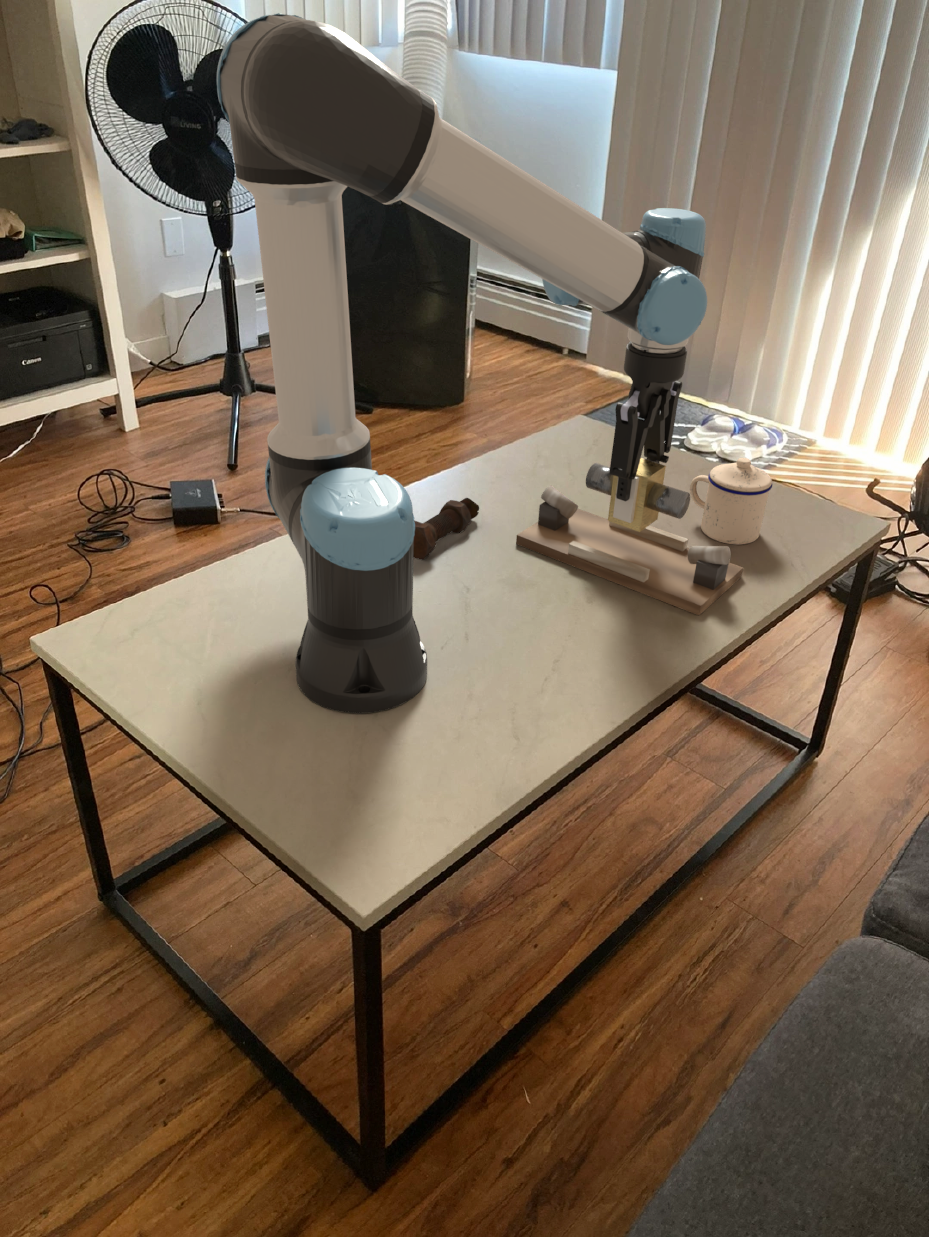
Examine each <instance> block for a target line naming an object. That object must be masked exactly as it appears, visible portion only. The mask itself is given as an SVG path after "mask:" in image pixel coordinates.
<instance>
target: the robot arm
mask: <svg viewBox="0 0 929 1237" xmlns="http://www.w3.org/2000/svg"><path fill="white" fill-rule="evenodd" d="M216 92H217V97H218V102H219V105H220V106H221V111H222V113H223V114H224V117H225V119H226V120H227V122H228V124H229V128H230V137H231V143H232V153H233V155H232V156H233V161H234V169H235V176H236V177H235V178H236V181H237V182H238V183H240V185H242V186H243V187H244V189H246V190H247V191H248V192H249V194H251V195H252V197H253V198H254V206H255V216H256V223H257V224H256V225H257V235H258V243H259V251H260V260H261V261H260V262H261V269H262V280H263V288H264V297H265V299H264V300H265V305H266V306H265V308H266V315H267V324H268V334H269V341H270V343H269V345H270V351H271V353H270V354H271V362H272V370H273V371H272V372H273V378H274V380H273V381H274V390H275V398H276V408H277V415H278V416H277V417H278V423H277V424H276V425H275V426H274V427H273V428H272V429H271V430H270V431H269V432H268V434H267V437H266V439H267V440H266V442H267V448H268V449H267V451H268V459H267V461H266V464H265V471H264V484H265V493H266V494H267V499H268V501H269V505H270V506H271V508H272V511H273V512H274V514H275V515H276V516H277V518H279V520H280V522H281V524H282V526H283V527H284V529H285V531H286V532H287V535H288V536H289V538H290V540H291V543H292V544H293V545H294V547H295V549H296V551H297V553H298V555H299V557H300V559H301V561H302V564H303V568H304V573H305V589H306V603H307V604H306V605H307V621H306V624H305V627H304V630H303V634H302V637H301V639H300V644H299V647H298V649H297V652H296V655H295V661H294V662H295V678H296V679H295V680H296V682H297V685H298V688H299V689H300V691H301V693H302V694H303V695H304V696H305V697H306V698H307V699H309V700H310V701H312V702H313V703H315V704H317V705H319V706H321V707H323V708H325V709H329V710H332V711H337V712H339V713H340V712H341V713H349V714H371V713H376V712H383V711H387V710H390V709H394V708H396V707H399V706H402V705H403V704H405V703H407V702H408V701H410V700H412V699H413V698H414V697H415V696H416V695H418V694H419V692H420V691H421V690H422V689H423V687H424V686H425V684H426V681H427V677H428V655H427V654H428V653H427V650H426V647H425V646H424V643H423V642H422V640H421V636H420V632H419V629H418V627H417V624H416V620H415V619H414V616H413V614H414V613H413V608H414V606H413V604H414V603H413V602H414V601H413V600H414V598H413V597H414V558H413V548H414V535H415V522H414V520H415V516H414V513H413V512H414V511H413V510H414V509H413V503H412V499H411V497H410V496H411V495H410V494H409V493H408V490H406V488H405V487H404V486H403V485H402V483H400V482H399V481H398V480H396V479H395V478H394V477H391V476H390V475H388V474H386V473H383V474H379V473H378V471H377V470H374V469H373V465H372V464H373V463H372V448H371V433H370V430H369V428H368V427H367V426H366V425H365V424H363V423H362V422H361V420H359V419H357V417H356V404H355V402H356V401H355V390H354V388H355V387H354V386H355V385H354V373H353V371H354V370H353V356H352V342H351V341H352V340H351V324H350V308H349V307H350V306H349V294H348V279H347V278H348V277H347V274H348V273H347V263H346V261H347V260H346V246H345V232H344V230H345V228H344V213H343V198H342V195H343V193H344V191H345V190H346V189H347V188H348V187H349V188H350V189H354V190H355V191H358V192H360V193H362V194H364V195H366V196H368V197H370V198H371V199H373V200H375V201H377V202H379V203H381V204H383V205H392V204H393V203H397V202H399V201H402V203H405V204H407V205H408V206H410V207H412V208H414V209H416V210H418V211H419V212H421V213H423V214H425V215H426V216H428V217H431V218H432V219H434V220H435V221H438V222H439V223H441V224H443V225H445V226H446V227H448V228H450V229H452V230H454V231H456V232H457V233H459V234H461V235H463V236H464V237H466V238H468V239H470V240H472V241H474V242H476V243H477V244H478V245H481V246H482V247H484V248H487V249H488V250H490V251H492V252H493V253H495V254H497V255H499V256H500V257H503V258H504V259H505V260H508V261H510V262H511V263H513V264H515V265H517V266H518V267H521V268H522V269H524V270H525V271H527V272H529V273H530V274H533V275H535V276H537V277H538V278H541V279H542V285H543V288H544V289H543V290H544V292H545V293H546V296H547V298H548V299H549V301H551V302H552V303H553V304H555V305H557V306H571V307H576V306H579V305H589V306H591V307H592V308H594V309H596V310H597V311H599V312H601V313H602V314H604V315H606V316H607V317H609V318H611V319H613V320H614V321H616V322H618V323H620V324H622V325H624V326H626V327H628V329H627V339H628V340H629V342H628V343H627V344H626V346H625V347H626V348H625V354H624V355H625V356H624V363H623V371H624V373H625V374H626V375H627V376H628V377H629V378H630V379H631V381H632V383H631V387H630V389H629V391H628V392H629V393H628V399H627V401H626V402H625V403H623V402H619V401H618V402H617V404H616V405H615V410H614V411H615V427H614V436H613V443H612V448H611V449H612V452H611V456H610V457H611V458H610V463H609V464H610V465H609V467H610V472H609V473H610V474H611V475H614V476H617V477H618V482H617V490H616V497H615V505H614V512H613V517H614V518H617V519H620V520H623V521H626V522H628V523H631V522H633V518H634V511H635V504H636V497H637V490H638V483H639V477H638V476H636V474H637V470H638V466H639V462H640V458H642V459H646V460H649V461H652V462H655V463H658V464H661V463H664V464H667V463H668V461H669V459H670V456H668V455H665V453H666V454H668V453H669V452H671V448H672V441H673V436H674V428H675V422H676V416H677V409H678V404H679V403H678V402H679V398H680V395H681V391H682V388H683V382H682V381H679V380H681V379H682V377H683V376H684V373H685V367H686V360H687V356H688V350H687V348H686V347H685V346H687V345H688V344H689V340H690V337H691V336H693V335H694V334H695V332H696V331H697V330H698V328H699V326H700V325H701V324H702V322H703V320H704V318H705V316H706V312H707V308H708V295H707V291H706V287H705V285H704V284H703V282H702V280H700V275H701V269H702V263H703V258H704V257H705V242H706V232H707V223H706V220H705V218H704V217H703V216H702V215H701V214H700V213H697V212H695V211H691V210H689V209H681V208H674V207H673V208H671V207H670V208H669V207H662V208H654V209H649V210H647V211H646V212H644V214H643V216H642V218H641V219H642V220H641V222H640V223H641V224H640V225H639V230H634V231H629V232H621V231H620V230H619V229H616V228H615V227H613V226H612V225H610V224H609V223H608V222H606V221H604V220H602V219H601V218H599V216H598V217H597V216H596V215H594V214H593V213H591V211H588V210H586V208H583V207H581V205H579V204H577V203H575V202H574V201H572V200H571V199H569V198H567V197H566V196H564V195H563V194H562V193H560V192H558V191H556V190H555V189H554V188H552V187H551V186H549V185H547V184H545V183H544V182H542V181H541V180H539V179H537V178H536V177H534V176H533V175H531V174H530V173H528V172H526V171H525V170H524V169H522V168H520V167H518V166H517V165H516V164H513V163H512V162H511V161H509V160H507V159H506V158H504V157H503V156H502V155H500V154H498V153H496V152H495V151H493V150H491V148H489V147H486V146H485V145H484V144H482V143H481V142H479V141H477V140H476V139H474V138H473V137H470V136H469V135H468V134H467V133H465V132H463V131H461V130H460V129H458V128H457V127H455V126H454V125H452V124H450V123H449V122H448V121H446V120H444V119H443V118H441V117H440V114H439V110H438V104H437V102H436V101H435V99H434V98H433V97H431V96H430V95H428V94H427V93H425V92H424V91H423V90H420V89H419V88H417V87H416V86H415V85H414V84H412V83H410V82H409V81H408V80H406V79H405V78H403V77H402V76H401V75H400V74H399V73H397V72H396V71H394V70H393V69H391V68H390V67H389V66H387V65H386V64H385V63H384V62H382V61H381V60H380V59H379V58H378V57H376V56H375V55H374V54H373V53H371V52H370V51H369V50H368V49H367V48H365V47H364V46H363V45H362V44H361V43H359V42H358V41H356V40H355V39H354V38H353V37H351V36H350V35H348V34H347V33H346V32H344V31H343V30H341V29H339V28H337V27H335V26H333V25H331V24H329V23H325V22H322V21H318V20H317V21H316V20H311V19H305V18H303V17H301V16H299V15H295V14H293V15H291V14H285V13H279V12H278V13H273V14H265V15H262V16H260V17H256V18H254V19H252V20H250V21H248V22H246V23H245V24H242V26H240V27H239V28H238V29H237V30H236V31H235V32H233V34H232V35H231V36H230V38H228V40H227V42H226V44H225V45H224V47H223V49H222V50H221V53H220V56H219V60H218V64H217V70H216ZM642 454H643V456H644V457H642ZM660 462H661V463H660Z"/></svg>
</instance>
